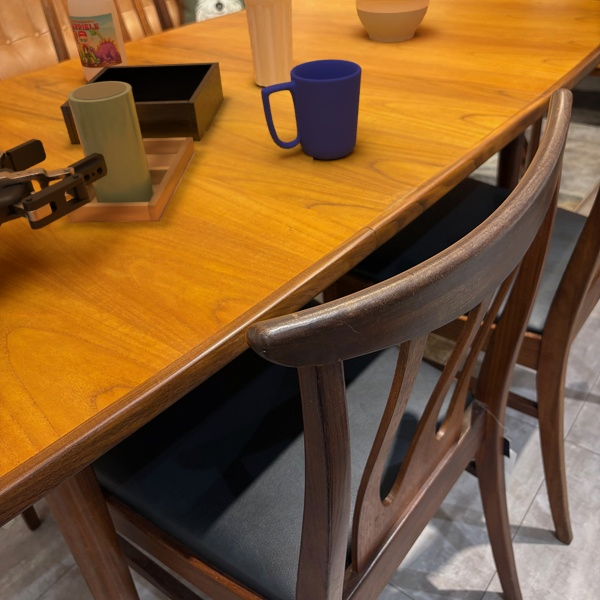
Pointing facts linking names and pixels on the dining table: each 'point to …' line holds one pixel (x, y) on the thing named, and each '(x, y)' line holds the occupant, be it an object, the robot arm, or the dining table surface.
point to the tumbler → (113, 140)
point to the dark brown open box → (165, 98)
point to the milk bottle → (97, 35)
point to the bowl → (391, 18)
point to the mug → (321, 107)
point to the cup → (270, 40)
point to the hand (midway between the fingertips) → (71, 155)
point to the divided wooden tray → (165, 177)
